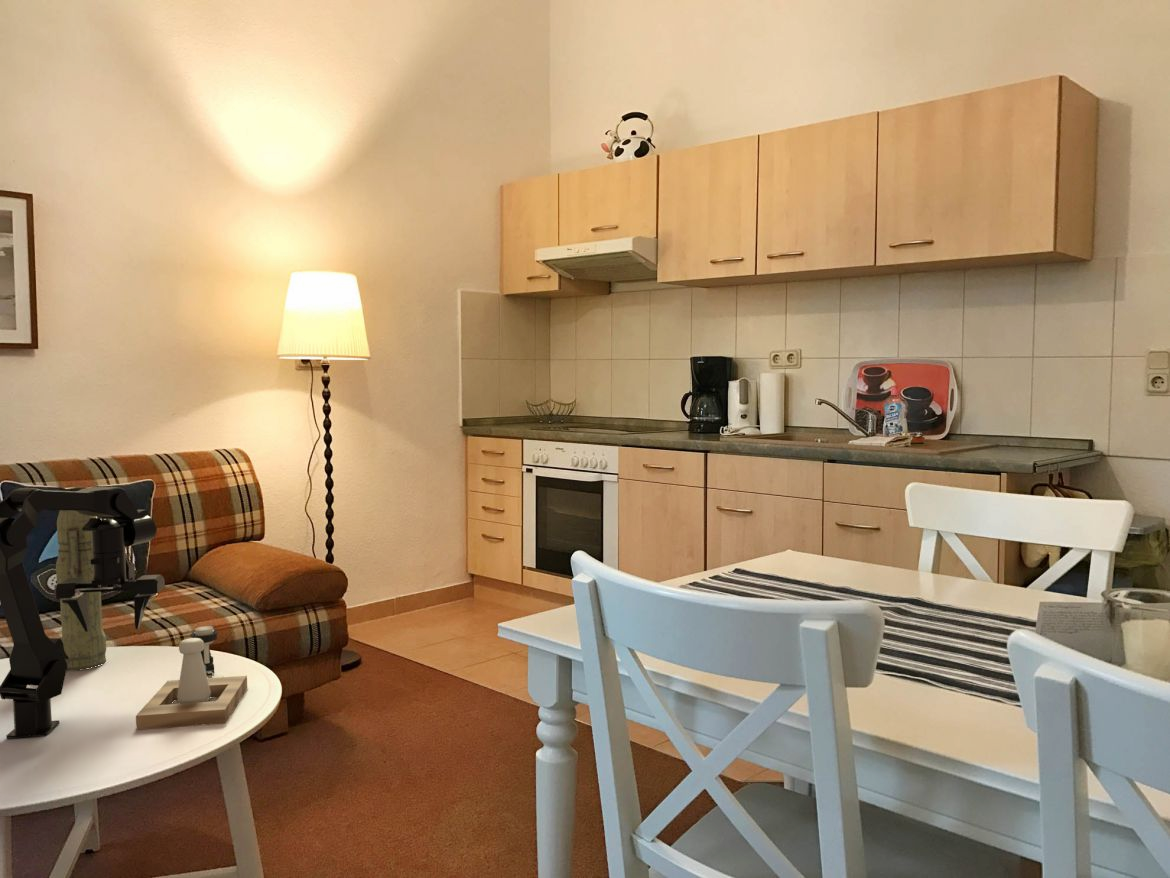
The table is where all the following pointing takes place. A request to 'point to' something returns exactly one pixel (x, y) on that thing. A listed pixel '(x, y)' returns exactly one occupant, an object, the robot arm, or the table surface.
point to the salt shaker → (193, 673)
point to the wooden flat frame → (192, 705)
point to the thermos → (77, 565)
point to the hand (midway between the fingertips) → (112, 630)
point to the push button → (206, 646)
